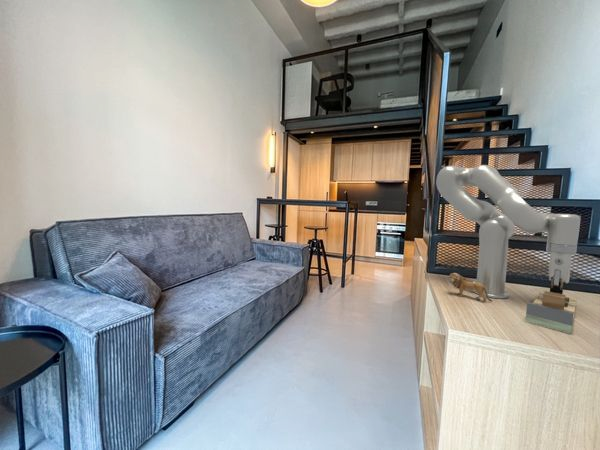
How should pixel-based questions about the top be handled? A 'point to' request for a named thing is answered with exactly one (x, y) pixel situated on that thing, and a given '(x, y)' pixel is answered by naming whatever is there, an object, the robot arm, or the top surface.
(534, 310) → the end stop
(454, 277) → the lion figurine
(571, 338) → the top surface
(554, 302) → the walnut block
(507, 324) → the top surface
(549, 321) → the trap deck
